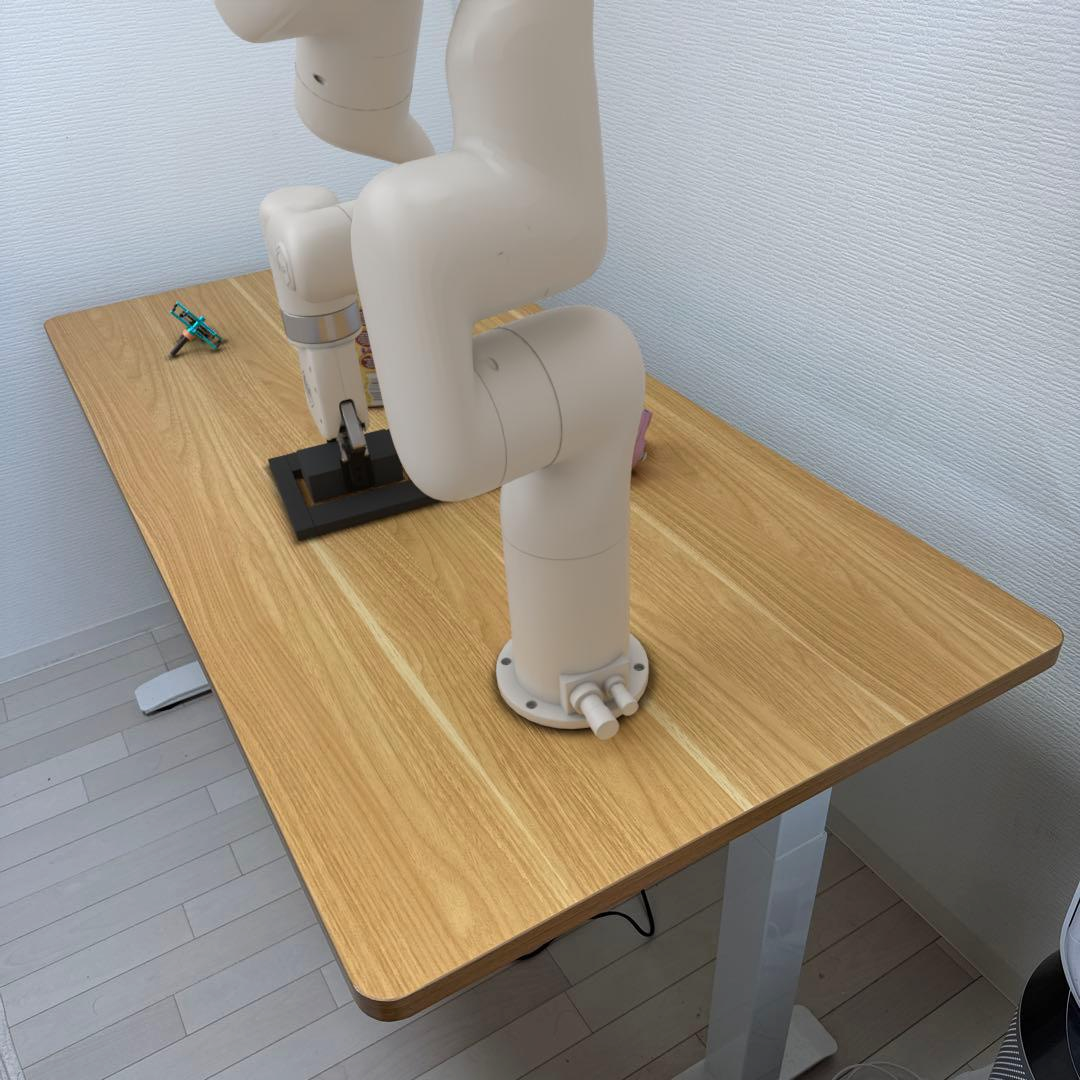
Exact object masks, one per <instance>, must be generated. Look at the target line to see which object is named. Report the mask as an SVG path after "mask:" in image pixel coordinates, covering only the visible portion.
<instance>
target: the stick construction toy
mask: <svg viewBox="0 0 1080 1080" xmlns="http://www.w3.org/2000/svg"><path fill="white" fill-rule="evenodd" d="M177 307H179V308H180V309H182V311H181V312H179V314H177V313H176V312H175V311H176V310H177ZM169 314H170V315H172V316H173V317H174V318H176V319H177V320H178V321H179V322H181V323H182V324H183V325H184V326H186V327H185V328H184V329H183V330H182V332H181V333H182V334H181V335H180V336H179V337H178V338H179V339H180V340H179V341H178V342H177V344H176V345H175V346H174V347H173V348H172V350H171V351H170V352H169V354H170V355H171V357H176V355H177V354H178V353H179V352H180V350H182V348H184V346H185V345H186V344H187V343H188V342H189V341H193V339H194V338H195V336H196V335H197V336H198V337H200V338H201V339H202V340H203V341H204V342H205V343H207V345H209V346H210V347H212V348H213V349H214V350H215V351H216V350H217V349H218V348H219V347H220V346H221V344H220V343H221V342H222V341H223V337H221V336H220V335H219V334H218V333H217V332H216V331H214V330H213V329H212V328H211V327H209V326H208V325H207V324H206V323H205V322H206V320H207V319H206V318H205V317H204V316H203V315H201V316H200V317H197V316H196V314H194V313H192V312H191V311H190V310H189V309H187V308H186V307H185V306H184V305H183V304H181V302H179V301H176V302H175V304H174V305H173V307H172V308H171V310H170V311H169ZM208 332H210V334H211V336H210V335H209V334H208ZM209 338H210V339H212V340H214V339H215V338H217V340H216V344H213V343H212V341H210V340H209Z"/></svg>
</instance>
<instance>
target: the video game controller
mask: <svg viewBox="0 0 1080 1080" xmlns="http://www.w3.org/2000/svg"><path fill="white" fill-rule="evenodd" d="M652 418H653V412H651V411H650V410H648V409H646V408H643V410H642V415H641V420H640V424H639V428H638V433H637V437H636V441H635V447H634V452H633V459H632V468H631V470H632V469H634V468H635V466H636V465H637V463H638V462H640V463H643V462H644V461H645V460H646V458H647V457H648V456H647V451H645V452H644V450H645V447H646V443H647V440H646V439H645V436H646V433H647V430H648V428H649V426H650V423H651V420H652Z"/></svg>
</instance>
